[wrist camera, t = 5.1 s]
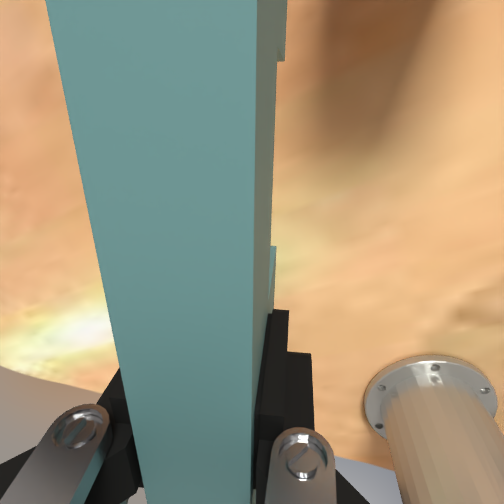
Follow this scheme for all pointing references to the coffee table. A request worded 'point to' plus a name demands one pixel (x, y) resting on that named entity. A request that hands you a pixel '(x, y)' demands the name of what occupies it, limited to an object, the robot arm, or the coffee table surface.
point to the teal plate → (180, 219)
